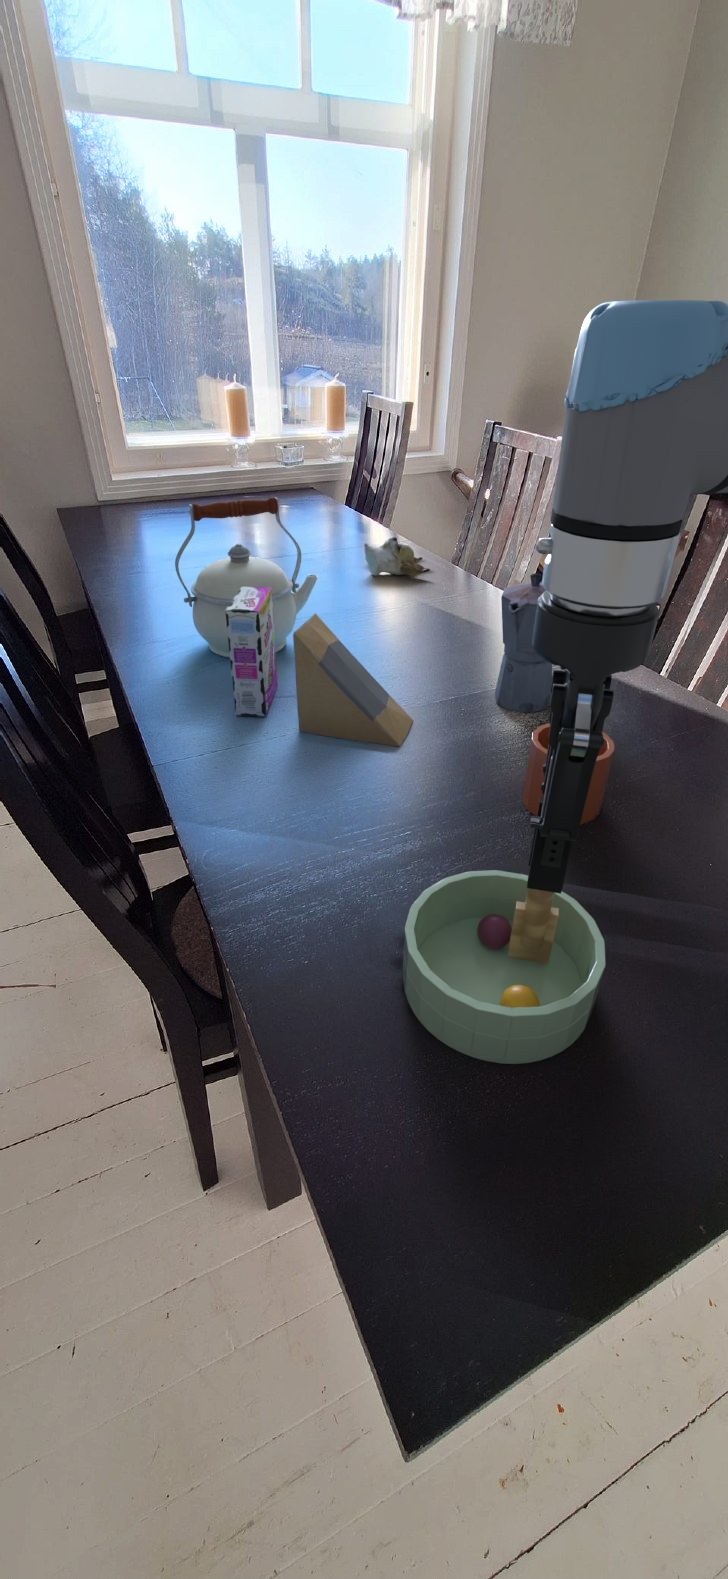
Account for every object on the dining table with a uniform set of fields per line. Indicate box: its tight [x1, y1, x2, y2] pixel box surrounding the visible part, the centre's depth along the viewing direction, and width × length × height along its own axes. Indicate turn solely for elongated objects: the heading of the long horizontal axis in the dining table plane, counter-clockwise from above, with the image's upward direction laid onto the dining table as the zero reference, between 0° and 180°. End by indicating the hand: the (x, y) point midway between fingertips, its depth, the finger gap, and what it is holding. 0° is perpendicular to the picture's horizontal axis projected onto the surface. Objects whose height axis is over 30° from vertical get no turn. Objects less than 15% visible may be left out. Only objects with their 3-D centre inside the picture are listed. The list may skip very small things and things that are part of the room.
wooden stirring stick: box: [508, 757, 559, 964], centre depth 57 cm, size 4×2×21 cm, turn 76°
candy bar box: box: [225, 587, 278, 718], centre depth 103 cm, size 11×5×16 cm, turn 177°
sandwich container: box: [292, 613, 414, 747], centre depth 97 cm, size 9×15×15 cm, turn 73°
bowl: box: [401, 869, 607, 1065], centre depth 60 cm, size 17×17×6 cm
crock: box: [521, 722, 615, 825], centre depth 81 cm, size 9×9×10 cm
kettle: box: [174, 496, 319, 659], centre depth 121 cm, size 25×18×25 cm
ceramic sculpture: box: [363, 536, 431, 577], centre depth 161 cm, size 11×9×15 cm
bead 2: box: [500, 985, 540, 1008], centre depth 57 cm, size 3×3×3 cm
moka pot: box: [494, 572, 553, 713], centre depth 103 cm, size 10×15×20 cm, turn 145°
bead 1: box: [477, 914, 512, 949], centre depth 64 cm, size 3×3×3 cm
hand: (544, 875), depth 57 cm, fingers closed on wooden stirring stick, 2 cm apart
